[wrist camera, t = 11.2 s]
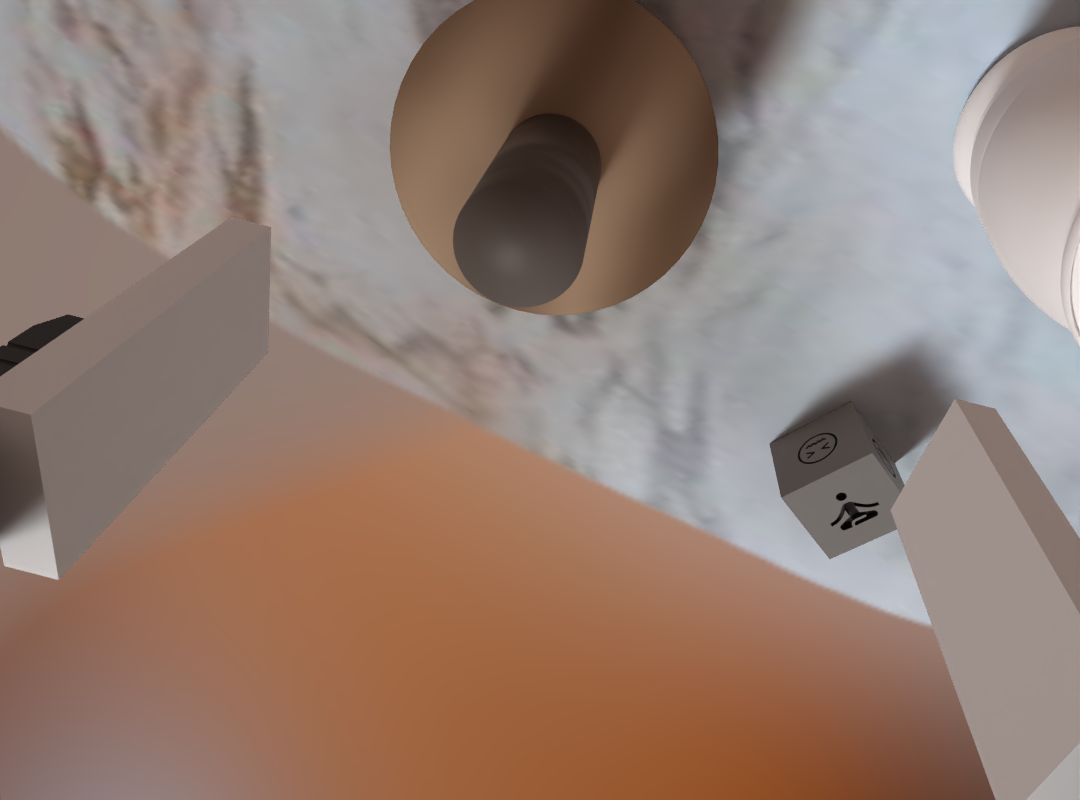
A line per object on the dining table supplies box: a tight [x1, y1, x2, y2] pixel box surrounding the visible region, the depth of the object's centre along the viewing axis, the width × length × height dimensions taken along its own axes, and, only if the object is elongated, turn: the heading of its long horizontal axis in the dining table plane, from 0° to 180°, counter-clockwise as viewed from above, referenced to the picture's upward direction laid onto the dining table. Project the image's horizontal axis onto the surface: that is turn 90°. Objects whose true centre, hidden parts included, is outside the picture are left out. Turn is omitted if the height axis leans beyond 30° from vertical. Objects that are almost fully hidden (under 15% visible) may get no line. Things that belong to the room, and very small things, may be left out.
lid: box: [390, 0, 718, 315], centre depth 28 cm, size 13×13×10 cm
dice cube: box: [770, 401, 904, 559], centre depth 43 cm, size 5×5×5 cm
